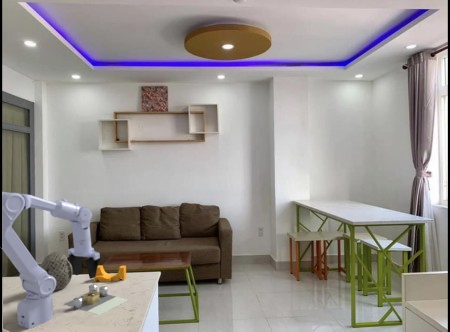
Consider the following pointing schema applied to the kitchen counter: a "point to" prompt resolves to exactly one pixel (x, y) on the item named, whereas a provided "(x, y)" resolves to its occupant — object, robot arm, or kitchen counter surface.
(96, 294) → the brass nut
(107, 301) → the board
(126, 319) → the kitchen counter surface
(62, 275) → the decorative egg
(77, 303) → the cylinder
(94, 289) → the cylinder
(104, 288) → the cylinder
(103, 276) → the pipe clamp
